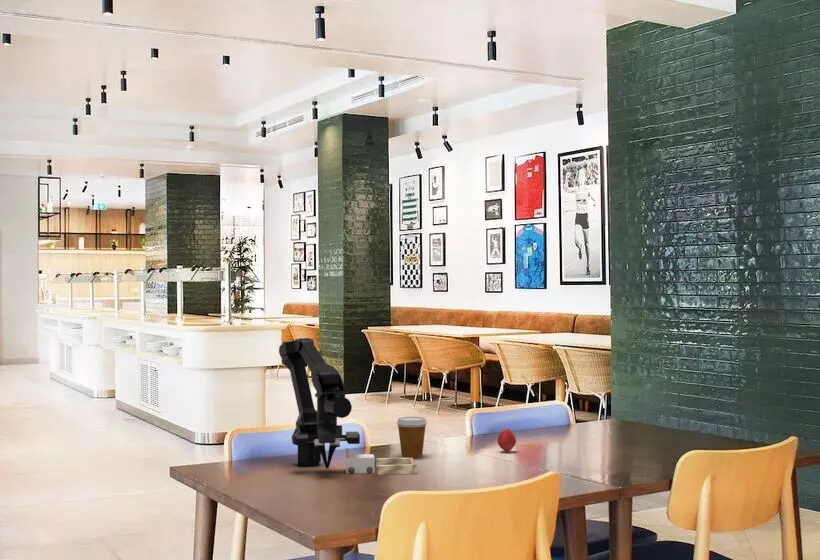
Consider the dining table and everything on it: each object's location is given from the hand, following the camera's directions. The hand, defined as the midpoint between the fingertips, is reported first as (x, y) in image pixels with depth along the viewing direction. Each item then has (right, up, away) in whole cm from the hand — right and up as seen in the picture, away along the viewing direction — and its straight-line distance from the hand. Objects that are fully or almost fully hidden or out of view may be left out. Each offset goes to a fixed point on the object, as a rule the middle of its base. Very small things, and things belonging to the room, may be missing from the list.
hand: (327, 468), depth 270 cm
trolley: (+9, -1, +1) cm, 10 cm away
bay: (+19, -1, +2) cm, 19 cm away
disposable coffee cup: (+24, -1, +23) cm, 34 cm away
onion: (+55, -1, +31) cm, 63 cm away
